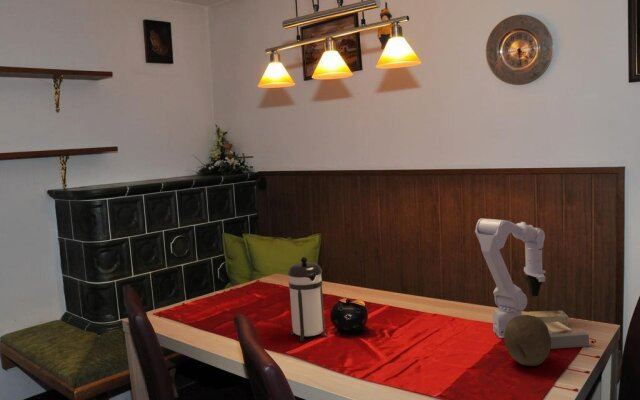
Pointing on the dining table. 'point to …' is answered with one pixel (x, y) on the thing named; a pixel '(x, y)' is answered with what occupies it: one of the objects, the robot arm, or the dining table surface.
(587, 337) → the grey board
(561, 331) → the birch block
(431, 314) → the dining table surface
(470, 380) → the dining table surface
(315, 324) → the coffee press
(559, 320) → the skincare box
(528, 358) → the cantaloupe
